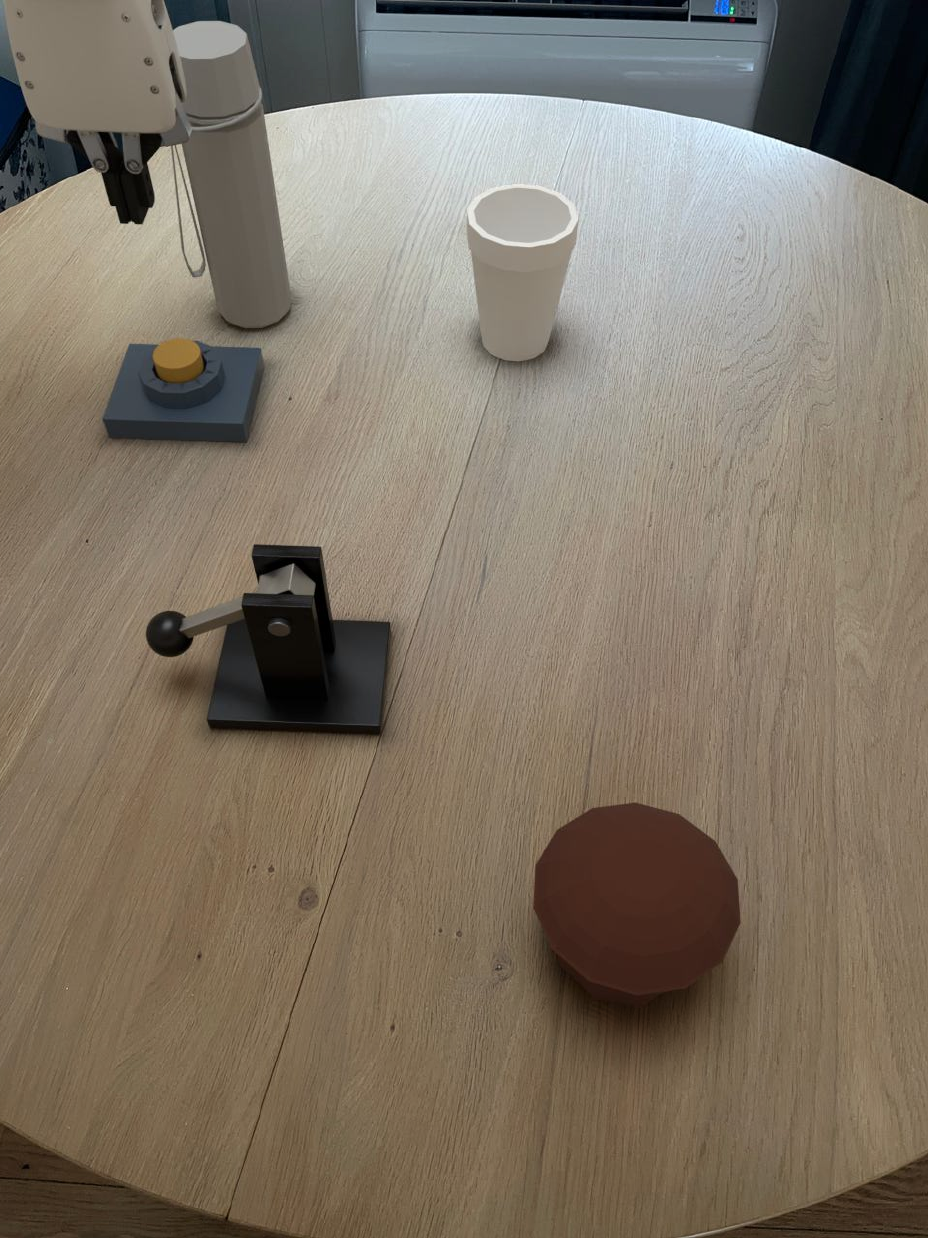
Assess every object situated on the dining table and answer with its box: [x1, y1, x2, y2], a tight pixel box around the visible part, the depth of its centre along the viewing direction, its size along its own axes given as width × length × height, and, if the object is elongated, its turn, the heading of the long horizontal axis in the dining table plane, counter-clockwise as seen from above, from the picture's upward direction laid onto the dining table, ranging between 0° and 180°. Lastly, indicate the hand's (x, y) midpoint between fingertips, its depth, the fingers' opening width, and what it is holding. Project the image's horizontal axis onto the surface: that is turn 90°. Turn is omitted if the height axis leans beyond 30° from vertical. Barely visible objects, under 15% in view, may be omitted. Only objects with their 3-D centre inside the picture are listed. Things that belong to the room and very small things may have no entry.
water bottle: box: [170, 20, 292, 329], centre depth 90 cm, size 9×8×25 cm
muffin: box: [532, 802, 742, 1009], centre depth 60 cm, size 12×11×10 cm
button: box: [153, 337, 204, 384], centre depth 89 cm, size 4×4×2 cm
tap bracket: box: [206, 543, 392, 736], centre depth 70 cm, size 12×9×12 cm
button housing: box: [102, 340, 265, 443], centre depth 91 cm, size 12×10×4 cm
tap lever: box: [145, 563, 316, 658], centre depth 69 cm, size 13×3×3 cm, turn 87°
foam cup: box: [466, 183, 579, 362], centre depth 93 cm, size 10×9×13 cm
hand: (135, 213), depth 78 cm, fingers closed
